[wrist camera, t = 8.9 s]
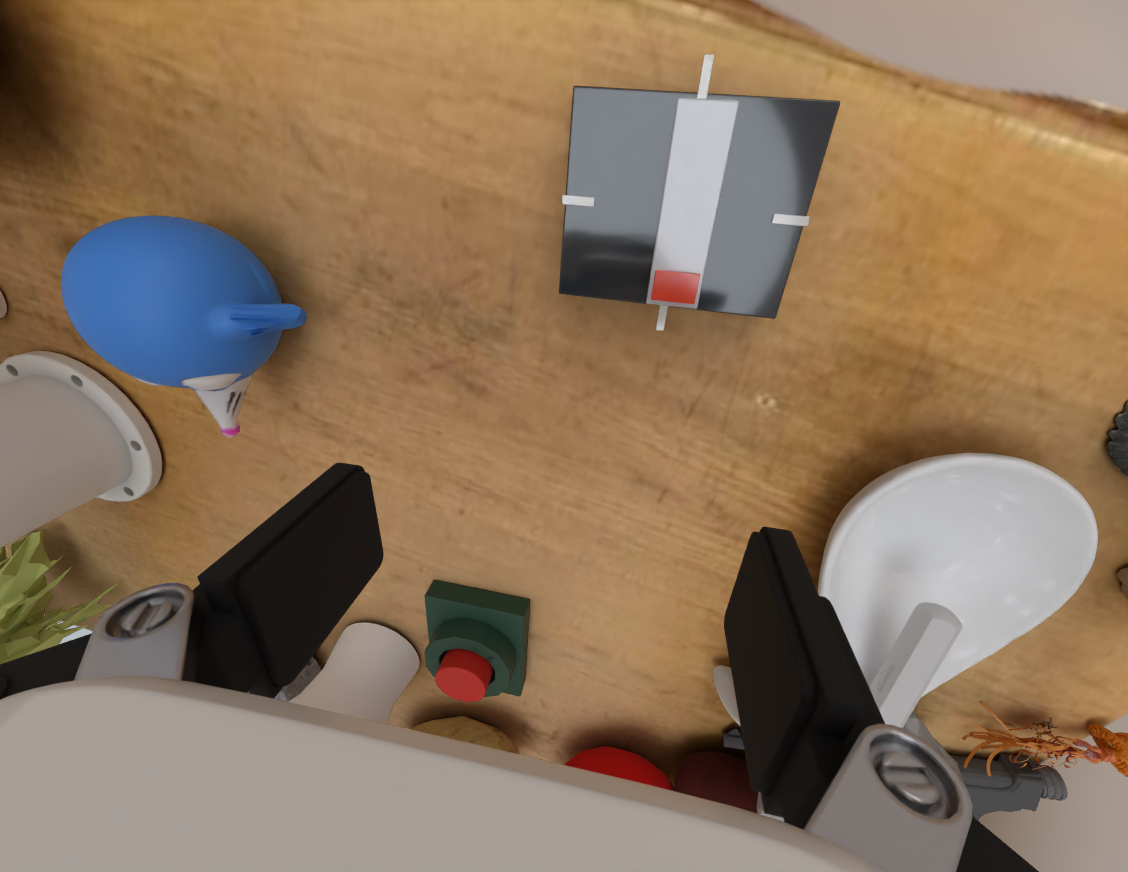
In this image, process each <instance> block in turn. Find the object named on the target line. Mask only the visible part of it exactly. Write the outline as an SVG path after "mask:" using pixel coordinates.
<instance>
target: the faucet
mask: <svg viewBox="0 0 1128 872" xmlns="http://www.w3.org/2000/svg"><path fill="white" fill-rule="evenodd" d="M6 312H7V305H6V302H5V299H4V296H3V294H2V292H1V291H0V318H3V317H4V316H5V315H6Z"/></svg>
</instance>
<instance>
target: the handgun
mask: <svg viewBox="0 0 1128 872" xmlns="http://www.w3.org/2000/svg"><path fill="white" fill-rule="evenodd" d="M723 745H724V747H728V748H736V749H743V750H744V744H743V738H742V734H741V732H738V730H737V728H736V729H733V730H732V731H729V730H728V733H727V732H723ZM950 756H951V757H952V758H953V759H954V760H955V761H956V762H957V764H958V767H959V771H960V774H961V776H962V779H963V780H962V781H963V782H964V784H965V786H966V787H967V789H968V792H969V796H970V799H971V802H972V805H973V807H972V816H973V817H974V818H975V819H976V820H977V821H978V820H979V818H980V817H981V816H983V815H984V814H986V813H990V812H995V811H1007V812H1013V811H1018V810H1021V809H1028V810H1032V811H1036V809H1037V806H1038V803H1039V800H1040V798H1049V799H1056V800H1060V801H1061V800H1065V799H1066V797H1067V789H1066V785H1065V783H1064V781H1063V779H1062V777H1061V776H1060V774H1059V773H1058V772H1057V771H1056V770H1055V769H1054V768H1051V767H1049V766H1046V765H1043V766H1045V767H1043V766H1042V765H1040V764H1036V765H1034V764H1033V763H1032V761H1031V760H1030V759H1028V758H1029V757H1028V756H1025V755H1019V756H1018V758H1017V761H1019V763H1014V762H1011V761H1010V760H1009V756H1010V755H1008V754H1001V755H1000V757H999V759H998V760H997V761H993V760H992V761H991V764H990V773H991V776H988V774H987V767H986V766H987V760H985V759H977V758H971V760H970V761H969V763H968V765H967V767H966V768H965V767H963V766H964V764H965V761H966V759H967V758H968V757H961V756H953V755H950ZM1016 756H1017V755H1011V759H1012V760H1013V761H1014V759H1015V758H1016ZM1027 759H1028V760H1027ZM1025 760H1027V761H1025ZM1022 761H1025V762H1022ZM1025 763H1027V764H1026V765H1025V766H1024V764H1025ZM1031 764H1032V765H1031ZM1022 766H1024V767H1022ZM1020 767H1021V768H1020ZM1040 767H1042V768H1040ZM1035 768H1038V769H1035ZM1031 769H1034V770H1031Z"/></svg>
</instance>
